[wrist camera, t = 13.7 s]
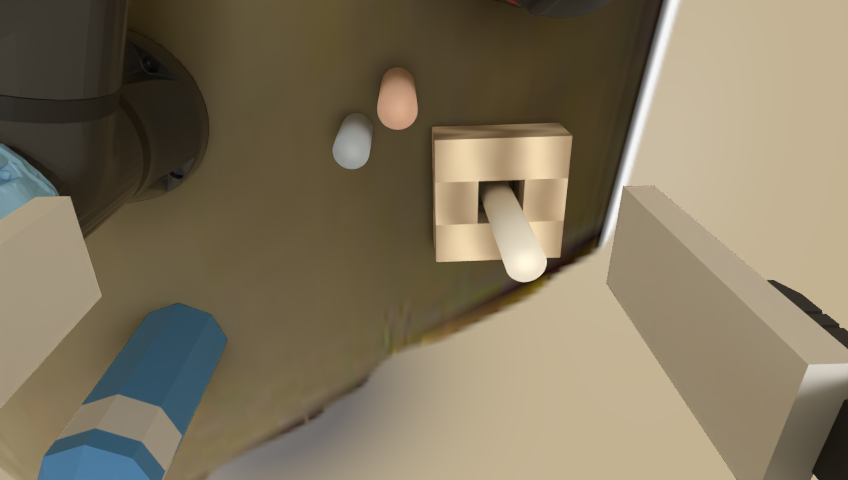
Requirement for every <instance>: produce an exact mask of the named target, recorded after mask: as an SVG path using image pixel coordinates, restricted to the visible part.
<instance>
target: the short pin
mask: <svg viewBox="0 0 848 480" xmlns="http://www.w3.org/2000/svg"><path fill="white" fill-rule="evenodd" d="M372 135H373V125H372V122H371V121H370V119H369V118H368V117H366V116H365V115H363V114H360V113H353V114H350V115H348V116H347V117H346V118H345V119H344V120H343V122H342V124H341V127H340V129H339V132H338V135H337V137H336V140H335V143H334V145H333V156H334V158H335V160H336V161H337V163H338V164H339V165H341V166H342V167H344V168H347V169H356V168H359V167H361V166H363V165H364V164H365V163H366V162H367V160H368V158H369V153H370V147H371V141H372Z"/></svg>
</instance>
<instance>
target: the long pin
mask: <svg viewBox="0 0 848 480" xmlns="http://www.w3.org/2000/svg"><path fill="white" fill-rule="evenodd" d="M478 192H479V194H480V197H481V200H482V203H483V206H484V209H485V211H486V214H487V217H488V220H489V223H490V226H491V228H492V231H493V234H494V237H495V240H496V243H497V245H498V248H499V251H500V254H501V257H502V260H503V262H504V265H505V268H506V271H507V273H508V275H509V276H510V277H511V278H512V279H514V280H516V281H520V282H528V281H532V280H534V279H536V278H538V277H539V276H540V275H541V274H542V273H543V272H544V270H545V268H546V264H547V260H546V256H545V254H544V252H543V250H542V248H541V246H540V244H539V242H538V240H537V238H536V236H535V234H534V232H533V230H532V228H531V226H530V225H529V223H528V221H527V219H526V217H525V215H524V213H523V211H522V209H521V207H520V205H519V203H518V201H517V199H516V197H515V195H514V193H513V191H512V189H511V187H510V185H509V183H508V181H507V180H502V181H479V182H478Z"/></svg>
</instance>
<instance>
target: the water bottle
mask: <svg viewBox="0 0 848 480" xmlns="http://www.w3.org/2000/svg"><path fill="white" fill-rule="evenodd" d="M226 341H227V338H226V337H225V335H224V334H223V332H222V330H221V329H220V327H219V326H218V324H217V323H216V321H215V319H214V318H213V316H212V315H211V314H208V313H205V312H203V311H200V310H197V309H194V308H191V307H188V306H186V305H183V304H180V303H178V304H175V305H171V306H168V307H165V308H162V309H159V310H156V311H153V312H150V313H149V314H148V315H147V317H146V318H145V319H144V321H143V322H142V323H141V325H140V326H139V327H138V329H137V330H136V332H135V333H134V334H133V336H132V337H131V338H130V340H129V341H128V342H127V344H126V345H125V347H124V348H123V349H122V351H121V352H120V353H119V355H118V356H117V357H116V359H115V360H114V361H113V363H112V364H111V366H110V367H109V368H108V370H107V371H106V372H105V374H104V375H103V376H102V378H101V379H100V381H99V382H98V383H97V385H96V386H95V387H94V389H93V390H92V391H91V393H90V394H89V396H88V397H87V398H86V400H85V401H84V402H83V404H82V405H81V406H80V408H79V409H78V410H77V412H76V413H75V415H74V416H73V417H72V419H71V420H70V421H69V423H68V424H67V425H66V427H65V428H64V430H63V431H62V432H61V434H60V435H59V436H58V438H57V439H56V440H55V442H54V443H53V445H52V446H51V447H50V449H49V450H48V451H47V453H46V454H45V455H44V457H43V460H42V464H41V468H40V472H39V475H38V479H37V480H163V479H164V477H165V475H166V473H167V471H168V469H169V466H170V464H171V462H172V460H173V458H174V456H175V454H176V451H177V449H178V447H179V445H180V443H181V441H182V439H183V436H184V434H185V432H186V430H187V428H188V426H189V424H190V421H191V419H192V417H193V415H194V413H195V411H196V409H197V406H198V404H199V402H200V400H201V398H202V396H203V394H204V391H205V389H206V387H207V385H208V383H209V381H210V378H211V376H212V374H213V372H214V370H215V368H216V366H217V363H218V361H219V359H220V356H221V354H222V351H223V349H224V346H225V344H226Z"/></svg>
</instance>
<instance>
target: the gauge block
mask: <svg viewBox="0 0 848 480" xmlns="http://www.w3.org/2000/svg"><path fill="white" fill-rule="evenodd" d="M571 145H572V135H571V134H570V133H569V132H568V131H567V130H566V129H565V128H564V127H563V126H562V125H561V124H560V123H536V124H504V125H473V126H442V127H432V166H433V228H434V248H435V256H436V262H450V261H476V260H502V257H501V254H500V251H499V248H498V245H497V243H496V240H495V237H494V234H493V231H492V228H491V226H490V223H489V220H488V217H487V214H486V211H485V209H484V206H483V205H478V182H479V181H502V180H515V183H514V195H515V197H516V199H517V201H518V203H519V205H520V207H521V209H522V211H523V213H524V215H525V217H526V219H527V221H528V223H529V225H530V226H531V228H532V230H533V232H534V234H535V236H536V238H537V240H538V242H539V244H540V246H541V248H542V250H543V252H544V254H545V256H546V258H554V257H560V252H561V242H562V233H563V223H564V213H565V203H566V194H567V184H568V174H569V164H570V154H571Z"/></svg>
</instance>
